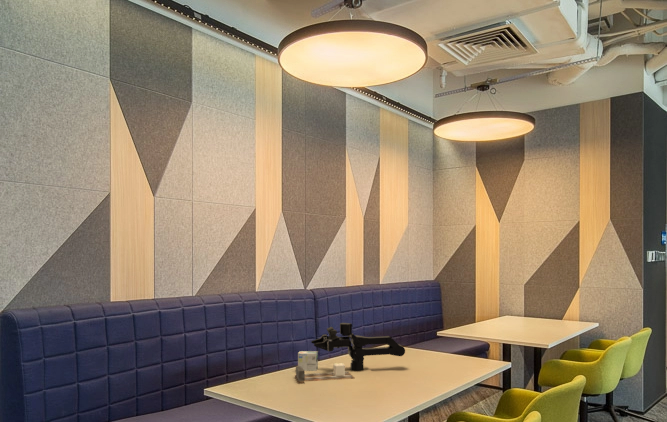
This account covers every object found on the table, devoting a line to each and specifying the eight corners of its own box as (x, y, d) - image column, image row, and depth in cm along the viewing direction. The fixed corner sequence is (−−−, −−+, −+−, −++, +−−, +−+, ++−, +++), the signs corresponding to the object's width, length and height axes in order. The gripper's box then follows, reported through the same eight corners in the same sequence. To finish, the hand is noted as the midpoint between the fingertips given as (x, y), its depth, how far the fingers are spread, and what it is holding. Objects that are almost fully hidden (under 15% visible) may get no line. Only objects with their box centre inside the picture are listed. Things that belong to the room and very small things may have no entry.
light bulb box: (318, 370, 295) (318, 350, 295) (316, 372, 288) (316, 353, 289) (299, 369, 296) (299, 350, 296) (297, 372, 289) (297, 353, 290)
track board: (349, 374, 284) (348, 363, 285) (355, 380, 270) (354, 368, 271) (294, 377, 278) (294, 365, 279) (298, 383, 265) (298, 371, 265)
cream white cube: (342, 374, 279) (342, 363, 280) (345, 377, 274) (344, 365, 274) (333, 374, 278) (333, 363, 279) (335, 377, 273) (335, 366, 273)
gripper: (336, 325, 299) (309, 326, 296) (343, 330, 281) (315, 331, 278) (336, 344, 298) (310, 345, 295) (343, 350, 280) (315, 352, 277)
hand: (312, 343), depth 286 cm, fingers open, 9 cm apart
